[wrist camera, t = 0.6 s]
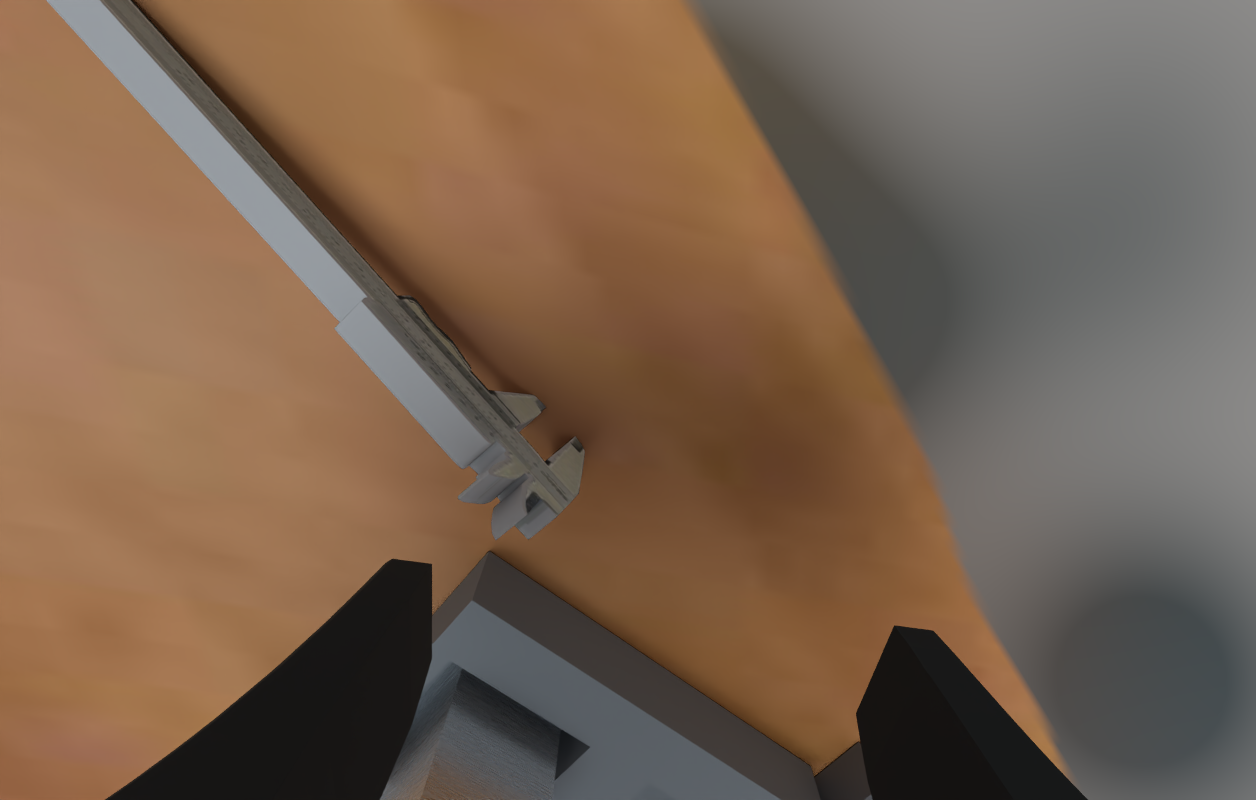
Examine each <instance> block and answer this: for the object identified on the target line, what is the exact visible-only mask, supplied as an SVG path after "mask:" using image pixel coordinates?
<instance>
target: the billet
mask: <svg viewBox="0 0 1256 800" xmlns="http://www.w3.org/2000/svg"><path fill="white" fill-rule="evenodd" d="M559 738H560V728H559V727H557V726H555V725H554V724H552V723H551V722H549V721H547V720H546V719H544V718H542V717H541V716H539V715H538V714H536V713H534V712H533V711H531V710H529V709H528V708H526V707H525V706H523V705H521V704H520V703H518V702H516V701H515V700H513V699H512V698H510V697H508V696H507V695H505V694H503V693H502V692H500V691H499V690H497V689H495V688H494V687H492V686H490V685H489V684H487V683H486V682H484V681H482V680H481V679H479V678H477V677H476V676H474V675H473V674H471V673H469V672H468V671H466V670H464V669H463V668H461V667H460V666H458V665H456V664H455V663H452V664H451V665H450V666H449V667H448V668H447V669H446V671H445V672H444V673H443V674H442V675H441V676H440V677H439V678H438V679H437V680H436V681H435V683H434V684H433V685H432V686H431V687H430V688H429V689H428V690H427V691H426V692H425V693H424V694H423V696H422V697H421V698H420V700H419V704H418V707H417V710H416V713H415V716H414V719H413V723H412V725H411V728H410V730H409V733H408V735H407V737H406V740H405V742H404V745H403V747H402V749H401V752H400V754H399V756H398V759H397V761H396V763H395V766H394V768H393V771H392V773H391V775H390V778H389V780H388V782H387V785H386V787H385V789H384V792H383V794H382V796H381V799H380V800H552V798H553V789H554V781H555V772H556V764H557V755H558V746H559Z"/></svg>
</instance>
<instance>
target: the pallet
mask: <svg viewBox="0 0 1256 800" xmlns="http://www.w3.org/2000/svg"><path fill="white" fill-rule="evenodd" d="M452 663H455V664H456V665H458V666H460V667H461V668H463V669H464V670H466V671H468V672H469V673H471V674H473V675H474V676H476V677H477V678H479V679H481V680H482V681H484V682H486V683H487V684H489V685H490V686H492V687H494V688H495V689H497V690H499V691H500V692H502V693H503V694H505V695H507V696H508V697H510V698H512V699H513V700H515V701H516V702H518V703H520V704H521V705H523V706H525V707H526V708H528V709H529V710H531V711H533V712H534V713H536V714H538V715H539V716H541V717H542V718H544V719H546V720H547V721H549V722H551V723H552V724H554V725H555V726H557V727H559V728H560V738H559V746H558V755H557V764H556V772H555V781H554V789H553V798H552V800H821V799H820V795H819V792H818V789H817V785H816V782H815V779H814V775H813V772H812V769H811V766H809V765H808V764H806V763H805V762H803V761H802V760H800V759H799V758H797V757H796V756H794V755H793V754H791V753H790V752H788V751H787V750H785V749H784V748H782V747H781V746H779V745H778V744H776V743H775V742H773V741H772V740H770V739H769V738H768V737H766V736H765V735H763V734H762V733H760V732H759V731H757V730H756V729H754V728H753V727H751V726H750V725H748V724H747V723H745V722H744V721H742V720H741V719H739V718H738V717H736V716H735V715H733V714H732V713H730V712H729V711H727V710H726V709H724V708H723V707H721V706H720V705H718V704H717V703H715V702H714V701H712V700H711V699H709V698H708V697H706V696H705V695H703V694H702V693H700V692H699V691H697V690H696V689H694V688H693V687H691V686H690V685H688V684H687V683H685V682H684V681H682V680H681V679H679V678H678V677H676V676H675V675H673V674H672V673H670V672H669V671H668V670H666V669H665V668H663V667H662V666H660V665H659V664H657V663H656V662H654V661H653V660H651V659H650V658H648V657H647V656H645V655H644V654H642V653H641V652H639V651H638V650H636V649H635V648H633V647H632V646H630V645H629V644H627V643H626V642H624V641H623V640H621V639H620V638H618V637H617V636H615V635H614V634H612V633H611V632H609V631H608V630H606V629H605V628H603V627H602V626H600V625H599V624H597V623H596V622H594V621H593V620H591V619H590V618H588V617H587V616H585V615H584V614H582V613H581V612H579V611H578V610H576V609H575V608H573V607H572V606H570V605H569V604H568V603H566V602H565V601H563V600H562V599H560V598H559V597H557V596H556V595H554V594H553V593H551V592H550V591H548V590H547V589H545V588H544V587H542V586H541V585H539V584H538V583H536V582H535V581H533V580H532V579H530V578H529V577H527V576H526V575H524V574H523V573H521V572H520V571H518V570H517V569H515V568H514V567H512V566H511V565H509V564H508V563H506V562H505V561H503V560H502V559H500V558H499V557H497V556H496V555H494V554H493V553H491V552H490V551H489V552H488V553H487V554H486V555H485V556H484V557H483V558H482V560H481V561H480V562H479V563H478V564H477V565H476V566H475V567H474V569H473V570H472V571H471V572H470V573H469V574H468V575H467V577H466V578H465V579H464V580H463V581H462V582H461V583H460V585H459V586H458V587H457V588H456V589H455V590H454V591H453V593H452V594H451V595H450V596H449V597H448V598H447V599H446V601H445V602H444V603H443V604H442V605H441V606H440V607H439V608H438V610H437V611H436V612H435V613H434V614H433V615H432V660H431V664H430V667H429V671H428V674H427V677H426V681H425V684H424V687H423V691H422V694H421V697H422V696H423V694H424V693H425V692H426V691H427V690H428V689H429V688H430V687H431V686H432V685H433V684H434V683H435V681H436V680H437V679H438V678H439V677H440V676H441V675H442V674H443V673H444V672H445V671H446V669H447V668H448V667H449V666H450V665H451V664H452ZM421 697H420V698H421Z"/></svg>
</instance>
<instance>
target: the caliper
mask: <svg viewBox="0 0 1256 800" xmlns="http://www.w3.org/2000/svg"><path fill="white" fill-rule="evenodd" d="M47 2H48V3H49V4H50V5H51V6H52V7H53V8H54V9H55V10H56V11H57V13H58V14H59V15H60V16H61V17H62V18H63V19H64V20H65V21H66V22H67V24H68V25H69V26H70V27H71V28H72V29H73V30H74V31H75V32H76V33H77V35H78V36H79V37H80V38H81V39H82V40H83V41H84V42H85V43H86V44H87V46H88V47H89V48H90V49H91V50H92V51H93V52H94V53H95V54H96V56H97V57H98V58H99V59H100V60H101V61H102V62H103V63H104V64H105V65H106V67H107V68H108V69H109V70H110V71H111V72H112V73H113V74H114V75H115V76H116V77H117V79H118V80H119V81H120V82H121V83H122V84H123V85H124V86H125V87H126V88H127V90H128V91H129V92H130V93H131V94H132V95H133V96H134V97H135V98H136V99H137V101H138V102H139V103H140V104H141V105H142V106H143V107H144V108H145V109H146V110H147V111H148V113H149V114H150V115H151V116H152V117H153V118H154V119H155V120H156V121H157V122H158V124H159V125H160V126H161V127H162V128H163V129H164V130H165V131H166V132H167V133H168V135H169V136H170V137H171V138H172V139H173V140H174V141H175V142H176V143H177V144H178V145H179V147H180V148H181V149H182V150H183V151H184V152H185V153H186V154H187V155H188V156H189V158H190V159H191V160H192V161H193V162H194V163H195V164H196V165H197V166H198V167H199V168H200V170H201V171H202V172H203V173H204V174H205V175H206V176H207V177H208V178H209V179H210V181H211V182H212V183H213V184H214V185H215V186H216V187H217V188H218V189H219V190H220V192H221V193H222V194H223V195H224V196H225V197H226V198H227V199H228V200H229V201H230V202H231V204H232V205H233V206H234V207H235V208H236V209H237V210H238V211H239V212H240V213H241V215H242V216H243V217H244V218H245V219H246V220H247V221H248V222H249V223H250V224H251V225H252V227H253V228H254V229H255V230H256V231H257V232H258V233H259V234H260V235H261V236H262V238H263V239H264V240H265V241H266V242H267V243H268V244H269V245H270V246H271V247H272V249H273V250H274V251H275V252H276V253H277V254H278V255H279V256H280V257H281V258H282V259H283V261H284V262H285V263H286V264H287V265H288V266H289V267H290V268H291V269H292V270H293V272H294V273H295V274H296V275H297V276H298V277H299V278H300V279H301V280H302V281H303V282H304V284H305V285H306V286H307V287H308V288H309V289H310V290H311V291H312V292H313V293H314V295H315V296H316V297H317V298H318V299H319V300H320V301H321V302H322V303H323V304H324V306H325V307H326V308H327V309H328V310H329V311H330V312H331V313H332V314H333V315H334V316H335V318H336V319H337V320H338V321H339V322H340V323H339V324H338V325H337V326H336V327H335V328H334V329H335V330H336V331H337V332H338V333H339V334H340V336H341V337H342V338H343V339H344V340H345V341H346V342H347V343H348V344H349V346H350V347H351V348H352V349H353V350H354V351H355V352H356V353H357V354H358V356H359V357H360V358H361V359H362V360H363V361H364V362H365V363H366V364H367V366H368V367H369V368H370V369H371V370H372V371H373V372H374V373H375V374H376V376H377V377H378V378H379V379H380V380H381V381H382V382H383V383H384V384H385V386H386V387H387V388H388V389H389V390H390V391H391V392H392V393H393V394H394V396H395V397H396V398H397V399H398V400H399V401H400V402H401V403H402V404H403V406H404V407H405V408H406V409H407V410H408V411H409V412H410V413H411V414H412V416H413V417H414V418H415V419H416V420H417V421H418V422H419V423H420V424H421V426H422V427H423V428H424V429H425V430H426V431H427V432H428V433H429V434H430V436H431V437H432V438H433V439H434V440H435V441H436V442H437V443H438V444H439V446H440V447H441V448H442V449H443V450H444V451H445V452H446V453H447V454H448V456H449V457H450V458H451V459H452V460H453V461H454V462H455V463H456V464H457V465H458V466H459V467H461V468H462V469H464V468H466V467H468V466H470V467H471V468H472V469H473V470H475V471H476V472H477V473H478V476H476V479H477V480H476V481H475V482H474V483H473V484H471V485H470V486H469V487H468V488H467V489H466V490H464V491H463V492H462V493H461V494H460V495H459V496H458V499H459V500H461V501H463V502H468V503H477V504H485V503H488V502H491V501H492V500H493V499H495V498H496V497H498V499H499V500H500V501H501V502H500V503H499V504H497V505H496V506H495V507H494V509H493V514H492V522H491V526H492V534H493V536H494V538H495V540H497V539H498V538H499V537H501V536H502V535H503V534H504V533H506V532H507V531H508V530H509V529H510V528H512V527H513V526H514V525H515V526H516V527H517V528H518V529H519V531H520V532H521V533H522V534H523V535H524V536H525V537H526V538H527V539H528V540H529V539H530V538H531V537H532V536H534V535H535V534H536V533H537V532H539V531H540V530H541V529H542V528H543V527H545V526H546V525H547V524H548V523H550V522H551V521H552V520H553V519H555V518H556V517H557V516H558V515H559V514H560V513H561V512H562V511H563V510H564V509H565V508H566V507H567V506H568V504H569V503H570V502H571V501H572V500H573V499H574V498H575V497H576V496H577V495H578V494H579V488H580V482H581V476H582V470H583V464H584V455H585V450H584V449H583V447H582V445H581V443H580V442H579V441H578V439H577V438H576V437H574V438H572V439H571V440H570V441H569V442H568V443H566V444H565V445H564V446H563V447H562V448H561V449H559V450H558V451H557V452H556V453H555V454H553V455H552V456H551V457H550V458H549V459H548V460H546V461H544V460H543V459H542V458H541V457H540V456H539V454H538V453H537V452H536V451H535V450H534V448H533V447H532V446H531V445H530V444H529V443H528V442H527V440H526V439H525V438H524V437H523V436H522V435H521V434H520V433H519V432H520V431H521V430H522V429H523V428H524V427H525V426H527V425H528V424H529V423H530V422H531V421H532V420H534V419H535V418H536V417H537V416H538V415H539V414H540V413H541V411H542V410H544V409H545V408H546V406H545V405H544V404H543V403H542V402H541V401H540V400H539V399H538V398H537V397H536V396H534V395H529V394H520V393H511V392H502V391H492V390H488V389H487V388H486V387H485V386H484V385H483V383H482V382H481V381H480V380H479V379H478V378H477V377H476V376H475V375H474V374H473V372H472V371H471V367H470V365H469V364H468V363H467V361H466V360H465V358H464V357H463V355H462V354H461V352H460V351H459V350H458V348H457V347H456V345H455V344H454V342H453V341H452V340H451V339H450V338H449V337H448V336H447V335H446V334H445V333H444V332H443V331H442V330H441V329H440V328H438V327H437V326H436V324H435V323H434V322H433V321H432V320H431V318H430V317H429V316H428V314H427V313H426V311H425V310H424V309H423V307H422V306H421V305H420V304H419V302H418V301H417V300H416V299H414V298H413V297H412V296H397V295H396V294H395V293H394V292H393V291H392V289H391V288H390V287H389V286H388V285H387V284H386V283H385V282H384V281H383V279H382V278H381V277H380V276H379V275H378V274H377V273H376V272H375V271H374V269H373V268H372V267H371V266H370V265H369V264H368V263H367V262H366V261H365V259H364V258H363V257H362V256H361V255H360V254H359V253H358V252H357V251H356V249H355V248H354V247H353V246H352V245H351V244H350V243H349V242H348V241H347V239H346V238H345V237H344V236H343V235H342V234H341V233H340V232H339V231H338V229H337V228H336V227H335V226H334V225H333V224H332V223H331V222H330V221H329V219H328V218H327V217H326V216H325V215H324V214H323V213H322V212H321V211H320V209H319V208H318V207H317V206H316V205H315V204H314V203H313V202H312V201H311V199H310V198H309V197H308V196H307V195H306V194H305V193H304V192H303V191H302V189H301V188H300V187H299V186H298V185H297V184H296V183H295V182H294V181H293V179H292V178H291V177H290V176H289V175H288V174H287V173H286V172H285V171H284V169H283V168H282V167H281V166H280V165H279V164H278V163H277V162H276V161H275V159H274V158H273V157H272V156H271V155H270V154H269V153H268V152H267V151H266V149H265V148H264V147H263V146H262V145H261V144H260V143H259V142H258V141H257V139H256V138H255V137H254V136H253V135H252V134H251V133H250V132H249V131H248V129H247V128H246V127H245V126H244V125H243V124H242V123H241V122H240V121H239V119H238V118H237V117H236V116H235V115H234V114H233V113H232V112H231V110H230V109H229V108H228V107H227V106H226V105H225V104H224V103H223V102H222V100H221V99H220V98H219V97H218V96H217V95H216V94H215V93H214V91H213V90H212V89H211V88H210V87H209V86H208V85H207V84H206V83H205V81H204V80H203V79H202V78H201V77H200V76H199V75H198V74H197V72H196V71H195V70H194V69H193V68H192V67H191V66H190V65H189V63H188V62H187V61H186V60H185V59H184V58H183V57H182V56H181V55H180V53H179V52H178V51H177V50H176V49H175V48H174V47H173V46H172V44H171V43H170V42H169V41H168V40H167V39H166V38H165V37H164V36H163V34H162V33H161V32H160V31H159V30H158V29H157V28H156V27H155V25H154V24H153V23H152V22H151V21H150V20H149V19H148V18H147V16H146V15H145V14H144V13H143V12H142V11H141V10H140V9H139V8H138V6H137V5H136V4H135V3H134V2H133V1H132V0H47Z"/></svg>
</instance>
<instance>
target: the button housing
mask: <svg viewBox="0 0 1256 800" xmlns="http://www.w3.org/2000/svg"><path fill="white" fill-rule="evenodd" d="M814 779H815V782H816V785H817V789H818V792H819V795H820V799H821V800H873V799H872V796H871V792H870V788H869V785H868V781H867V775H866V770H865V765H864V759H863V754H862V748H861V744H860V743H859V742H858V743H857V744H855V745H854V746H853V747H852V748H850V749H849V750H848V751H847V752H845V753H844V754H843V755H842V756H840V757H839V758H838V759H837V760H835V761H834V762H833V763H832V764H830V765H829V766H828V767H827V768H826V769H824V770H823V771H822V772H821V773H819V774H818V775H817V776H816V777H814Z"/></svg>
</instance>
